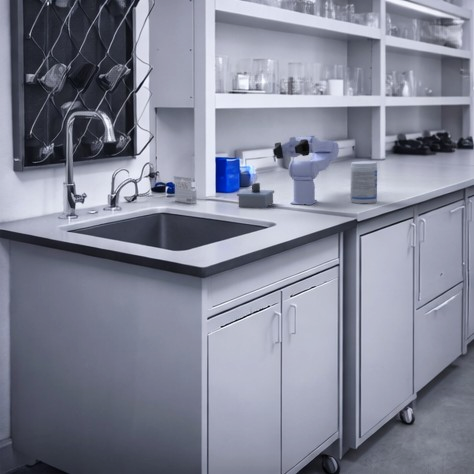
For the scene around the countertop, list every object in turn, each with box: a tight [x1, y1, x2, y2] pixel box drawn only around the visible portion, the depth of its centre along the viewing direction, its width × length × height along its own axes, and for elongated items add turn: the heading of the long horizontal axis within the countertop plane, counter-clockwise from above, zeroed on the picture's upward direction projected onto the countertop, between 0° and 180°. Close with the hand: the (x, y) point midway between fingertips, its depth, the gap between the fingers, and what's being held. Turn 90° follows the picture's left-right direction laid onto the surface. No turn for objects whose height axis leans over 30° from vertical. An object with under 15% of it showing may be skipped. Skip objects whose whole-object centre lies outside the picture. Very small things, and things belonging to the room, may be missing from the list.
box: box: [238, 193, 274, 209], centre depth 250 cm, size 10×10×4 cm
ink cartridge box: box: [173, 175, 197, 205], centre depth 260 cm, size 2×11×10 cm, turn 41°
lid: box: [236, 182, 275, 197], centre depth 249 cm, size 11×11×4 cm
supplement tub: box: [350, 160, 378, 204], centre depth 249 cm, size 10×10×15 cm
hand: (285, 151), depth 230 cm, fingers open, 7 cm apart
